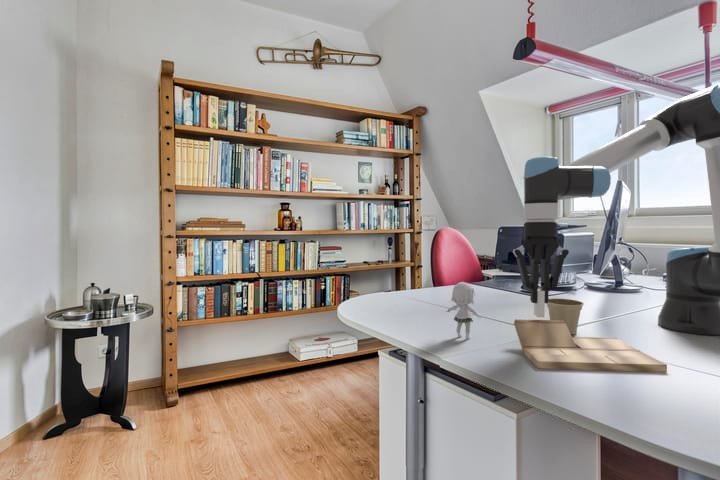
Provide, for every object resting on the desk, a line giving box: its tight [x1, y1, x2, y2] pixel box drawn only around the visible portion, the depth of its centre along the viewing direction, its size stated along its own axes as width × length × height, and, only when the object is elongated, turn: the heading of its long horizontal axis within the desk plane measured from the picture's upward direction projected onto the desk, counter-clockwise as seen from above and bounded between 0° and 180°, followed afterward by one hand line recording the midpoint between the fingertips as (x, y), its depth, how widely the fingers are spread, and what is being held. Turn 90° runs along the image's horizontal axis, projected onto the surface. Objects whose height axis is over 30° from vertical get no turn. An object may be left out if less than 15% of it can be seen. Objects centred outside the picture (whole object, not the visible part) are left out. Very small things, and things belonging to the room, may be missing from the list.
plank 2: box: [572, 336, 637, 350], centre depth 90 cm, size 12×8×2 cm
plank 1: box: [513, 319, 577, 351], centre depth 90 cm, size 12×8×2 cm
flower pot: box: [546, 297, 585, 336], centre depth 104 cm, size 9×9×9 cm
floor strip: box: [523, 347, 668, 373], centre depth 81 cm, size 25×9×2 cm, turn 84°
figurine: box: [445, 281, 482, 340], centre depth 99 cm, size 10×6×15 cm, turn 47°
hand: (539, 315), depth 93 cm, fingers closed
